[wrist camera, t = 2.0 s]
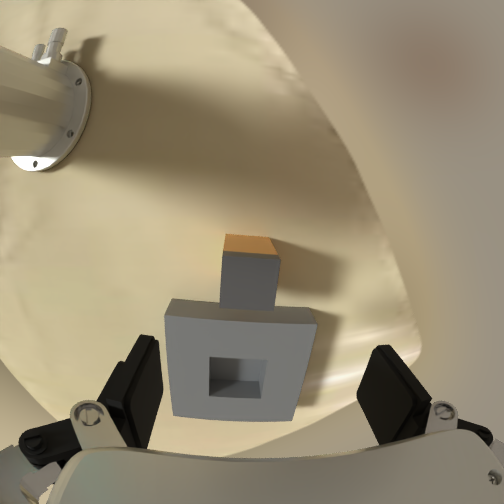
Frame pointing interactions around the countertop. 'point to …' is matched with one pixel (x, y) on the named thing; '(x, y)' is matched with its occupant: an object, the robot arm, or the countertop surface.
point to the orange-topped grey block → (249, 273)
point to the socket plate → (236, 360)
